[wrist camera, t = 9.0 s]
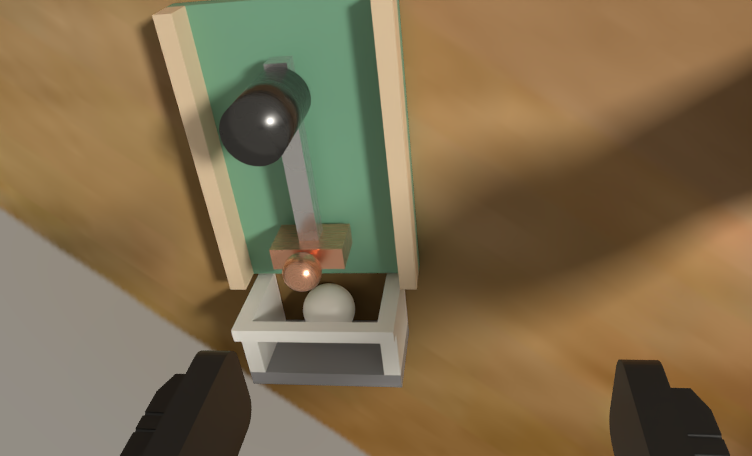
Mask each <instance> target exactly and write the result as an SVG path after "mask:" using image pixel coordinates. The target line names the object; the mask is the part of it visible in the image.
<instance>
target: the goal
mask: <svg viewBox="0 0 752 456" xmlns="http://www.w3.org/2000/svg"><path fill="white" fill-rule="evenodd" d="M231 332H232V336H233V339H234V342H242V345H243V348H244V352H245V355H246V359H247V362H248V365H249V369H250V372H251V376H252V379H253V383H257V384H296V385H334V386H373V387H402V384H403V376H404V368H405V360H406V352H407V344H408V335H409V327H408V317H407V307H406V296H405V289H400V285H399V275H398V273H387V275H386V280H385V286H384V291H383V296H382V301H381V306H380V312H379V317H378V320H353V321H352V322H306V321H305V320H286V318H285V313H284V309H283V305H282V301H281V296H280V292H279V288H278V283H277V279H276V275H275V274H258V277H257V279H256V281H255V283H254V285H253V287H252V289H251V291H250V293H249V295H248V297H247V299H246V301H245V303H244V305H243V307H242V309H241V311H240V313H239V315H238V317H237V319H236V322H235V324H234V326H233V328H232V330H231Z"/></svg>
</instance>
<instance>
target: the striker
mask: <svg viewBox="0 0 752 456" xmlns="http://www.w3.org/2000/svg"><path fill="white" fill-rule="evenodd" d="M263 65H264V71H262V72H261V73H260V74H259V75H258V76H257V77H256V78H255V79H254V80H253V81H252V82H251V83H250V85H249V86H248V87H247V88H246V89H245V90H244V91H243V92H242V93H241V94H240V96H239V97H238V98H237V99H236V100H235V101H234V102H233V103H232V104H231V105H230V107H229V108H228V109H227V110H226V111H225V112H224V114H223V115H222V117H221V120H220V124H219V134H220V138H221V141H222V143H223V145H224V147H225V148H226V150H227V151H228V152H229V153H230V154H231V155H232V156H233V157H234V158H235V159H237V160H238V161H240V162H242V163H244V164H247V165H251V166H267V165H270V164H272V163H274V162H276V161H277V160H278V159H279V158H280V157H281V156H282V160H283V165H284V170H285V175H286V180H287V184H288V189H289V194H290V199H291V204H292V209H293V214H294V219H295V224H296V225H281V227H280V229H279V231H278V233H277V235H276V237H275V239H274V241H273V243H272V245H271V247H270V249H269V252H270V256H271V260H272V264H273V269H282V276H283V279H284V282H285V283H286V284H287V286H288V287H290V288H291V289H293V290H295V291H299V292H305V291H309V290H311V289H313V288H314V287H316V286H317V284H318V283H319V282H320V280H321V277H322V269H345V267H346V263H347V260H348V257H349V253H350V250H351V246H352V243H353V242H352V235H351V228H350V224H322V221H321V216H320V210H319V204H318V198H317V193H316V187H315V181H314V175H313V170H312V164H311V158H310V153H309V147H308V141H307V135H306V130H305V124H304V118H305V117H306V115H307V113H308V111H309V109H310V105H311V94H310V91H309V88H308V86H307V84H306V82H305V81H304V80H303V79H302V77H300V76H299V75H298V74H297V73H296V72H295V67H294V61H293V56H278V57H270V58H269V59H268V60H267V61H266V62H265V63H264V64H263Z"/></svg>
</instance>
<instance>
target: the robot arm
mask: <svg viewBox="0 0 752 456" xmlns="http://www.w3.org/2000/svg"><path fill="white" fill-rule="evenodd" d="M250 419H251V399H250V395H249V392H248V389H247V385H246V382H245V379H244V375H243V372H242V369H241V365H240V362H239V359H238V356H237V354H236V353H235V352H234V351H200V352H198V353H197V354H196V356H195V357H194V359H193V361H192V363H191V365H190V367H189V368H188V371H187V372H186V374H175V375H174V376H173V377H172V378H171V379H170V380H169V381H167V382H166V383H165V384H164V385H163V386H162V387H161V388H160V389H159V390H158V391H157V392H156V394H155V395H154V397H153V399H152V401H151V402H150V404H149V406H148V408H147V409H146V411H145V416H142V418H141V420H140V421H139V423H138V425H137V427H136V431H135V432H134V433H133V434H132V436H131V437H130V439H129V441H128V442H127V444H126V446H125V448H124V449H123V451H122V453H121V455H120V456H238V454H239V451H240V448H241V445H242V443H243V441H244V438H245V435H246V433H247V430H248V427H249V424H250ZM610 435H611V442H612V446H613V451H614V455H615V456H730V454H729V451H728V449H727V446H726V444H725V442H724V440H723V439H722V437H721V432H720V430H719V427H718V425H717V423H716V420H715V418H714V416H713V413H712V411H711V409H710V408H709V407H708V406H707V405H706V404H705V403H704V402H703V401H702V400H701V399H700V398H699V397H698V396H697V395H696V394H695V393H694V392H693V390H692V389H691V388H670V385H669V382H668V380H667V377H666V374H665V371H664V369H663V366H662V364H661V362H660V361H658V360H618V362H617V365H616V372H615V379H614V386H613V393H612V400H611V407H610Z"/></svg>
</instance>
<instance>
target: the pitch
mask: <svg viewBox="0 0 752 456" xmlns="http://www.w3.org/2000/svg"><path fill="white" fill-rule="evenodd" d="M152 17H153V20H154V24H155V27H156V31H157V34H158V38H159V41H160V45H161V48H162V52H163V55H164V59H165V62H166V66H167V69H168V73H169V76H170V80H171V83H172V87H173V90H174V94H175V97H176V101H177V104H178V108H179V111H180V115H181V118H182V122H183V125H184V129H185V132H186V136H187V139H188V143H189V146H190V150H191V153H192V157H193V160H194V163H195V167H196V170H197V174H198V177H199V181H200V184H201V188H202V191H203V195H204V198H205V202H206V205H207V209H208V212H209V216H210V219H211V223H212V226H213V230H214V233H215V237H216V240H217V244H218V247H219V251H220V254H221V258H222V261H223V265H224V268H225V272H226V275H227V279H228V282H229V286H230V289H231V290H246V288H247V286H248V284H249V282H250V280H251V278H252V276H253V274H277V273H282V269H273V264H272V260H271V256H270V252H269V249H270V247H271V245H272V243H273V241H274V239H275V237H276V235H277V233H278V231H279V229H280V227H281V225H296V224H295V219H294V214H293V209H292V204H291V199H290V194H289V189H288V184H287V180H286V175H285V170H284V165H283V160H282V156H281V157H280V158H279V159H278V160H277V161H276V162H274V163H272V164H270V165H267V166H251V165H247V164H244V163H242V162H240V161H238V160H237V159H235V158H234V157H233V156H232V155H231V154H230V153H229V152H228V151H227V150H226V148H225V147H224V145H223V143H222V141H221V138H220V134H219V124H220V120H221V117H222V115H223V114H224V112H225V111H226V110H227V109H228V108H229V107H230V105H231V104H232V103H233V102H234V101H235V100H236V99H237V98H238V97H239V96H240V94H241V93H242V92H243V91H244V90H245V89H246V88H247V87H248V86H249V85H250V83H251V82H252V81H253V80H254V79H255V78H256V77H257V76H258V75H259V74H260V73H261V72H262V71H264V65H263V64H264V63H265V62H266V61H267V60H268V59H269V58H270V57H278V56H293V61H294V67H295V72H296V73H297V74H298V75H299V76H300V77H302V79H303V80H304V81H305V82H306V84H307V86H308V88H309V91H310V94H311V105H310V109H309V111H308V113H307V115H306V117H305V118H304V124H305V130H306V135H307V141H308V147H309V153H310V158H311V164H312V170H313V175H314V181H315V187H316V193H317V198H318V204H319V210H320V216H321V221H322V224H350V228H351V235H352V242H353V243H352V246H351V250H350V253H349V257H348V260H347V263H346V267H345V269H322V273H398V275H399V285H400V289H417V283H418V274H419V266H420V264H419V251H418V238H417V225H416V213H415V200H414V187H413V175H412V162H411V149H410V136H409V124H408V111H407V98H406V86H405V73H404V60H403V47H402V35H401V22H400V9H399V0H210V1H198V2H186V3H174V4H172V5H170V6H168V7H166V8H164V9H162V10H161V11H159V12H157V13H155V14H153V15H152Z"/></svg>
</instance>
